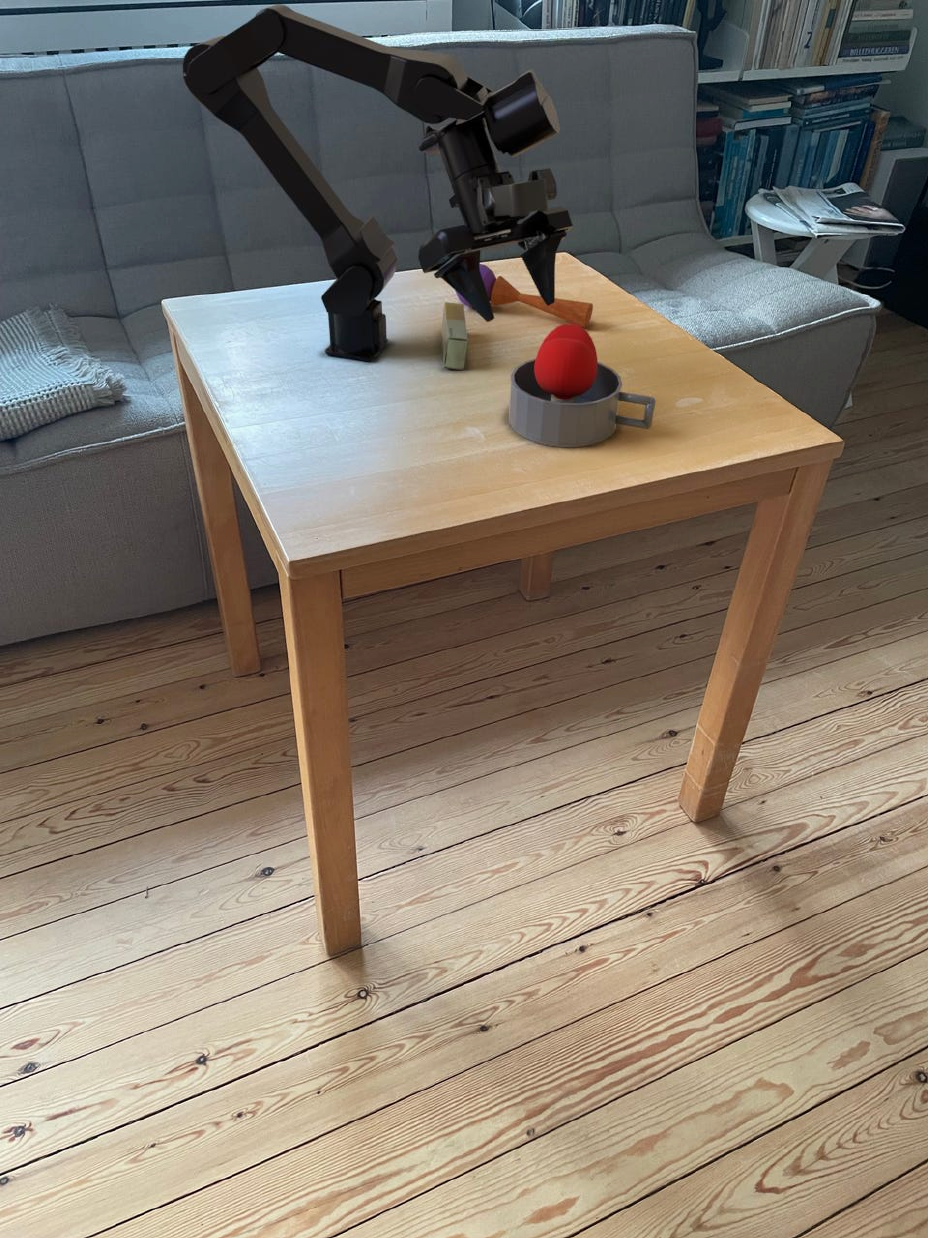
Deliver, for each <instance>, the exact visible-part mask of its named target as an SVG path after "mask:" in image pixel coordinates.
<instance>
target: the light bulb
mask: <svg viewBox="0 0 928 1238" xmlns="http://www.w3.org/2000/svg"><path fill="white" fill-rule="evenodd" d="M535 358H536V360H535V365H534V372H535V377H536V380H537V382H538V384H539V386H540V387H541V388H542V389H543V390H544V391H546V392H548V393H550V394H551V401H554V402H560V403H574V400H575V396H579V395H582V394H584V393H585V392H586V391H588V390H589V389H590V388H591V387H592V385H593V383H594V381H595V379H596V375H597V364H598V362H599V361H598V354H597V349H596V345H595V343H594V341H593V339H592V336H591V335H590V333H589V332H588V331H587V329H586V328H584V327H582V326H579V325H577V324H574V323H564V324H560V325H558V326H556V327H555V328H553V329H552V330H551V331H550V332H549V333H548V335H546V337H545V338H544V339H543V341H542V343H541V344H540V347H539V348H538V350H537V354H536V356H535Z"/></svg>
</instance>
